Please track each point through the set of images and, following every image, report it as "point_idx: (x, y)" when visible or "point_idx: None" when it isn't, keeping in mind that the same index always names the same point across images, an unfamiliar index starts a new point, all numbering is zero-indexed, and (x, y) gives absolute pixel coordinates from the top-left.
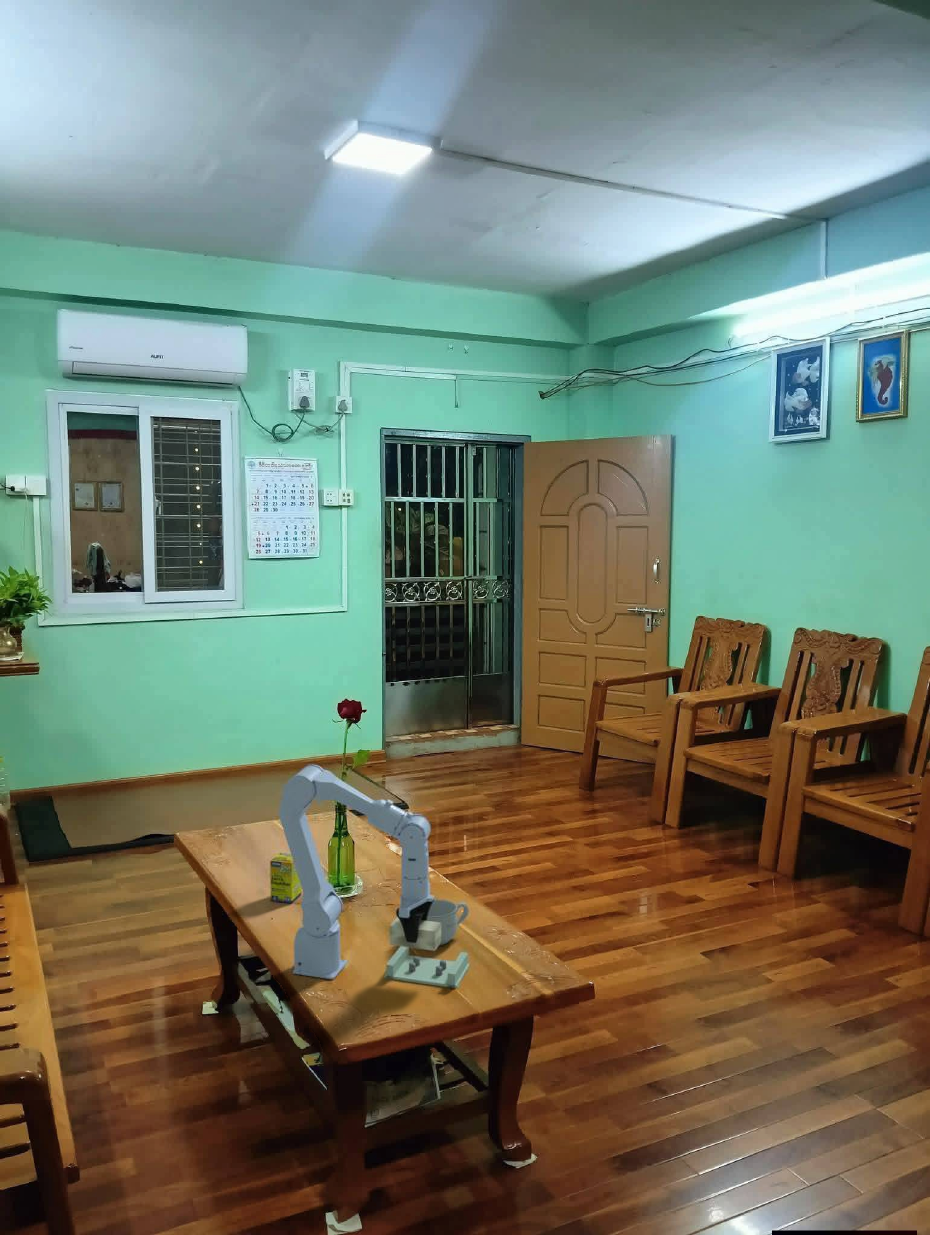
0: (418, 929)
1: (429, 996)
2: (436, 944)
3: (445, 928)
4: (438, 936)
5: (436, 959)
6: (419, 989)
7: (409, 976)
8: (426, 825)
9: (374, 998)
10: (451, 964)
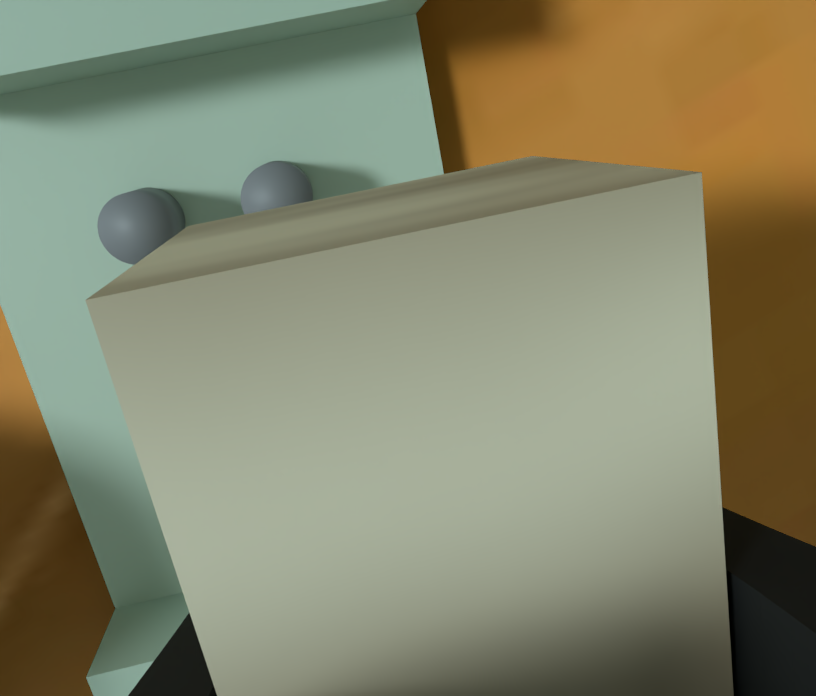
0: (767, 578)
1: (626, 95)
2: (465, 175)
3: None
4: (351, 210)
5: (32, 366)
6: None
7: None
8: None
9: (798, 461)
10: (29, 182)
